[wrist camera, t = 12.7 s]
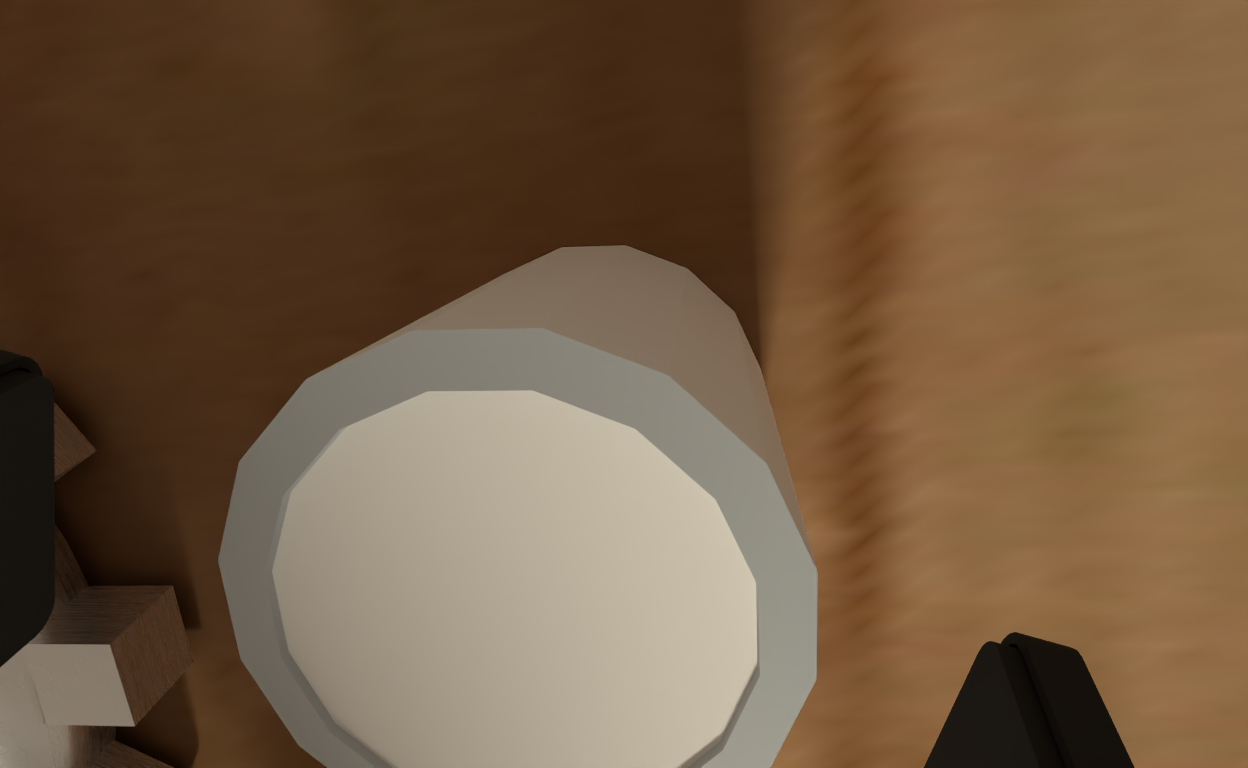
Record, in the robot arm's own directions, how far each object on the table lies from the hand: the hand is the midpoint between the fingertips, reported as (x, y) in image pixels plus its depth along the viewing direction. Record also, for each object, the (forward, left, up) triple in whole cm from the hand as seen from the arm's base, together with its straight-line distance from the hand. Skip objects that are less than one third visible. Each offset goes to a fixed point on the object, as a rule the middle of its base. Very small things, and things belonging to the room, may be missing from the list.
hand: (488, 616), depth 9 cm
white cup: (-1, 0, -8) cm, 8 cm away
